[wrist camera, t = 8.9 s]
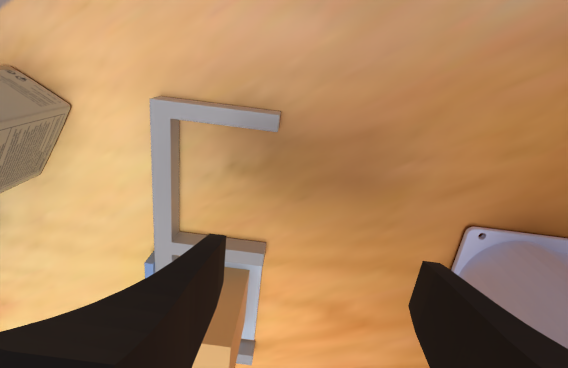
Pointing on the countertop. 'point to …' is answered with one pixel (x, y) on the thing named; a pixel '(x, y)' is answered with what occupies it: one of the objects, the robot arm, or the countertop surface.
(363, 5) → the countertop surface
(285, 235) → the countertop surface
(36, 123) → the skincare box
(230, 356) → the tan cardboard-colored block
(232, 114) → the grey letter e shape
